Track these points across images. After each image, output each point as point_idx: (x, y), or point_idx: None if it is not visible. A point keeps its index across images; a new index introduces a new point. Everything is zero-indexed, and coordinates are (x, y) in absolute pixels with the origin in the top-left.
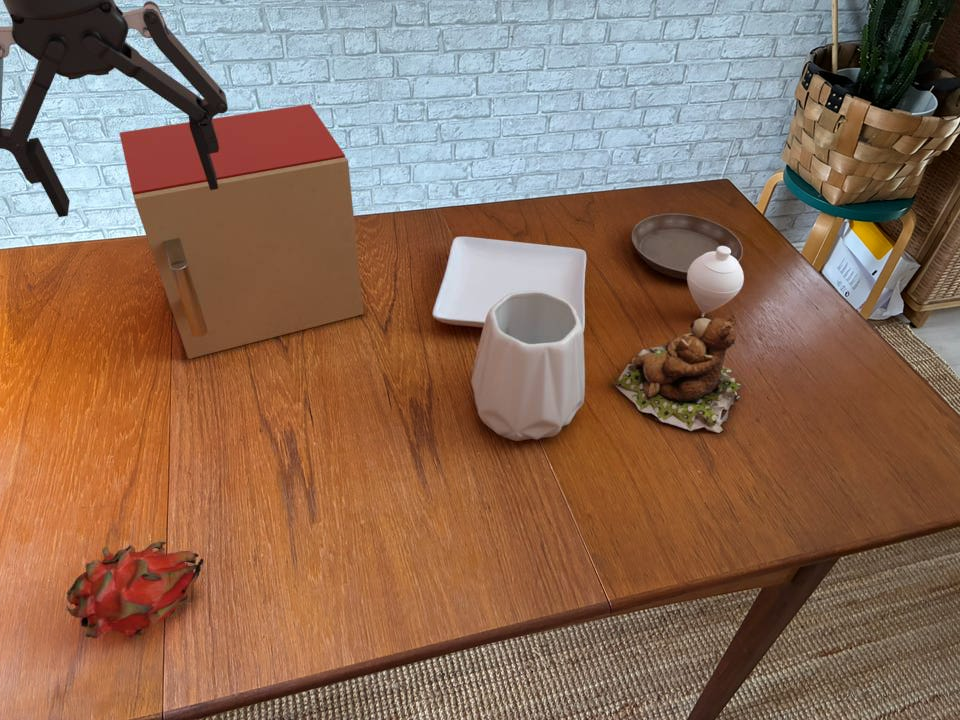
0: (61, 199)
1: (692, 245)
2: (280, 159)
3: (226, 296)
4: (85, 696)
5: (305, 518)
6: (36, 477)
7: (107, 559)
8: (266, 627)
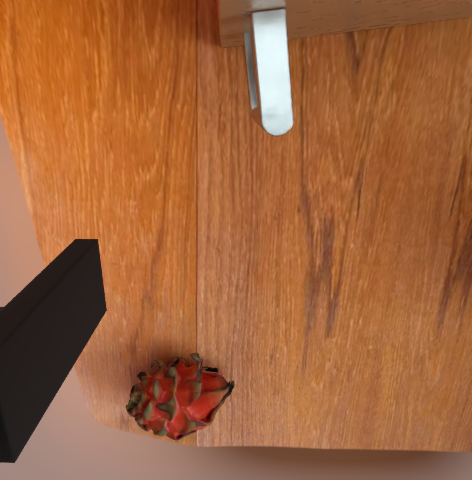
0: (90, 315)
1: None
2: None
3: (313, 25)
4: None
5: (321, 331)
6: (56, 210)
7: (159, 401)
8: (272, 412)
